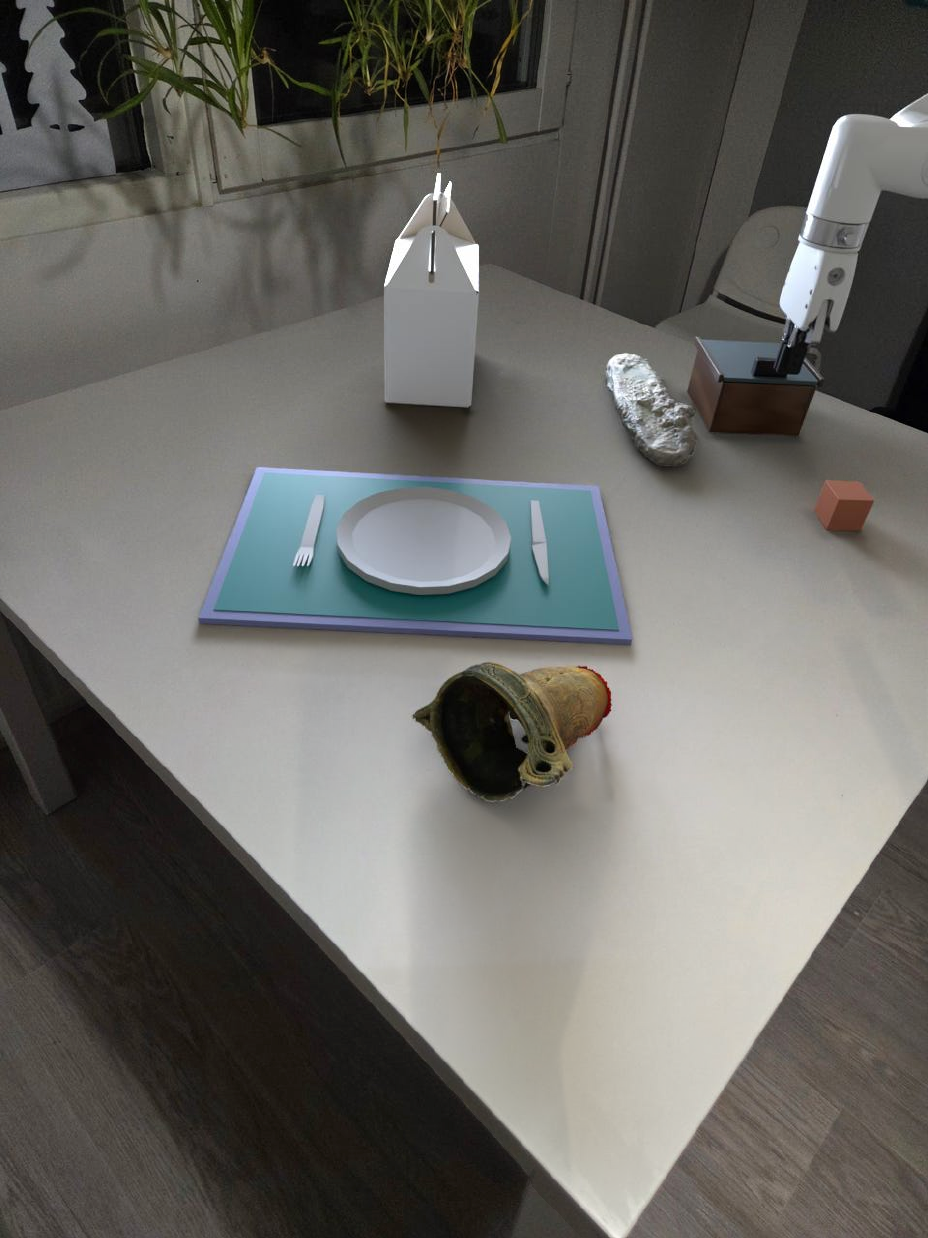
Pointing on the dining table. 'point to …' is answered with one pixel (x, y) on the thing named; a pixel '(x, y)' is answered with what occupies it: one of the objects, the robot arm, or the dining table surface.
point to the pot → (482, 732)
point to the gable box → (432, 308)
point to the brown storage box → (747, 400)
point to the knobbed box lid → (753, 363)
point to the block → (843, 505)
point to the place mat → (420, 558)
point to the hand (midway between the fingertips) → (785, 371)
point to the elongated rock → (650, 411)
